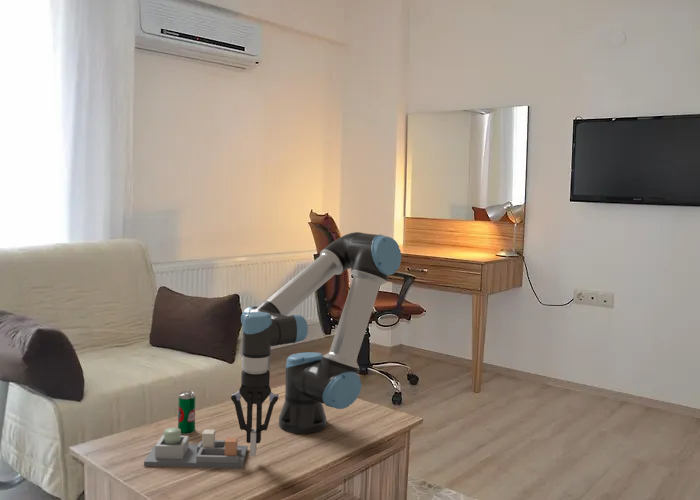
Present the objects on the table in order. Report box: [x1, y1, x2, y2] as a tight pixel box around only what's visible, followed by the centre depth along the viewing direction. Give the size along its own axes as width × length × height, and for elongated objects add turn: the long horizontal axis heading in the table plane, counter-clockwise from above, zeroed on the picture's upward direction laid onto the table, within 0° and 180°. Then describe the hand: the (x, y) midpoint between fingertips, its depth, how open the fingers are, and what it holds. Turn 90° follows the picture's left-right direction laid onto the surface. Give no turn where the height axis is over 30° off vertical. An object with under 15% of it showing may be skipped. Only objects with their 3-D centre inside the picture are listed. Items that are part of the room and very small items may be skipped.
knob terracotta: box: [225, 436, 239, 456], centre depth 174 cm, size 3×3×5 cm
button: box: [163, 427, 182, 444], centre depth 176 cm, size 4×4×3 cm
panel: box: [143, 434, 248, 469], centre depth 176 cm, size 26×12×5 cm, turn 92°
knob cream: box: [201, 428, 216, 447], centre depth 179 cm, size 3×3×5 cm
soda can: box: [177, 390, 197, 435], centre depth 194 cm, size 5×5×12 cm
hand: (253, 453), depth 174 cm, fingers closed
